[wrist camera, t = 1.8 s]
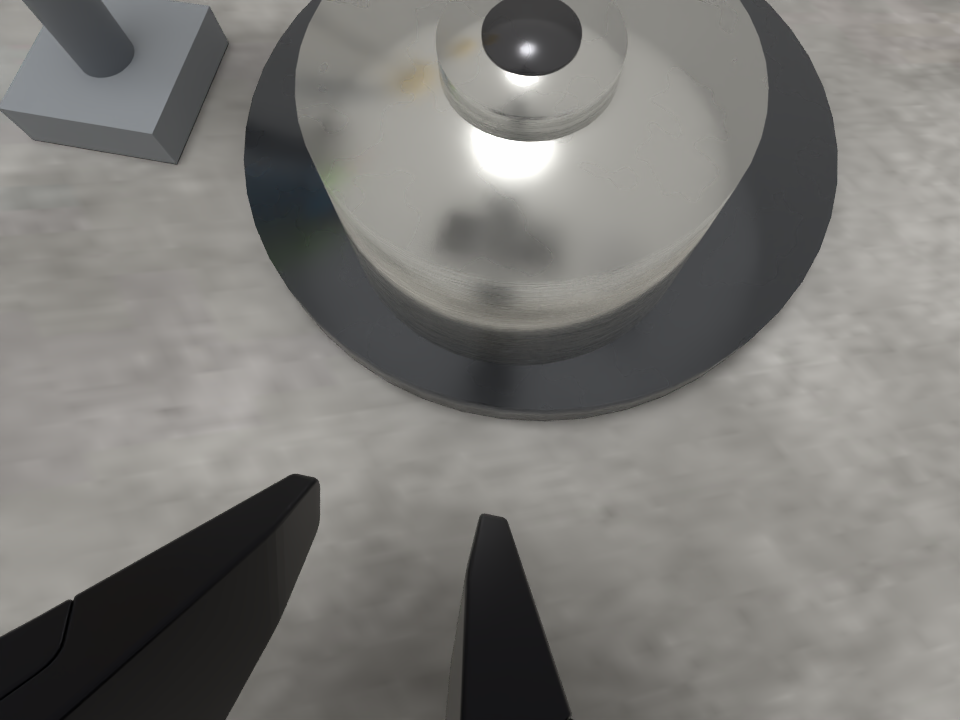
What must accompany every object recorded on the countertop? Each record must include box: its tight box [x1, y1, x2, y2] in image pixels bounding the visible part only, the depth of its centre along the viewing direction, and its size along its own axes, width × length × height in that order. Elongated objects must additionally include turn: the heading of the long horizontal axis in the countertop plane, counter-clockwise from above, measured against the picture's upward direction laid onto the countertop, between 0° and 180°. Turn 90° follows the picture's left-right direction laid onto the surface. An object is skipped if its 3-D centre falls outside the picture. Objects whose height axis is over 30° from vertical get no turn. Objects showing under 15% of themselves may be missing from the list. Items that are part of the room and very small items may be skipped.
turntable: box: [244, 0, 837, 421], centre depth 25 cm, size 24×24×2 cm
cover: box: [295, 0, 769, 366], centre depth 19 cm, size 13×13×8 cm
